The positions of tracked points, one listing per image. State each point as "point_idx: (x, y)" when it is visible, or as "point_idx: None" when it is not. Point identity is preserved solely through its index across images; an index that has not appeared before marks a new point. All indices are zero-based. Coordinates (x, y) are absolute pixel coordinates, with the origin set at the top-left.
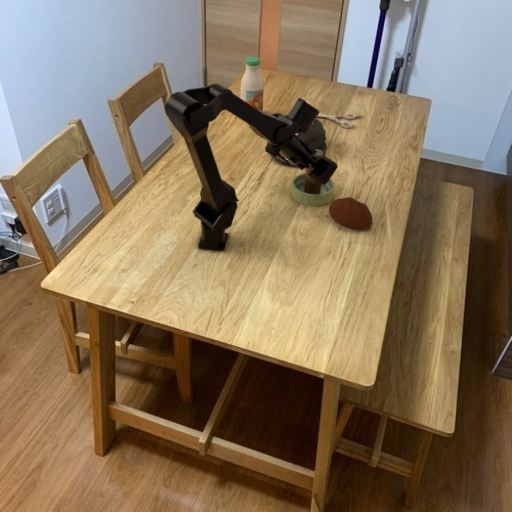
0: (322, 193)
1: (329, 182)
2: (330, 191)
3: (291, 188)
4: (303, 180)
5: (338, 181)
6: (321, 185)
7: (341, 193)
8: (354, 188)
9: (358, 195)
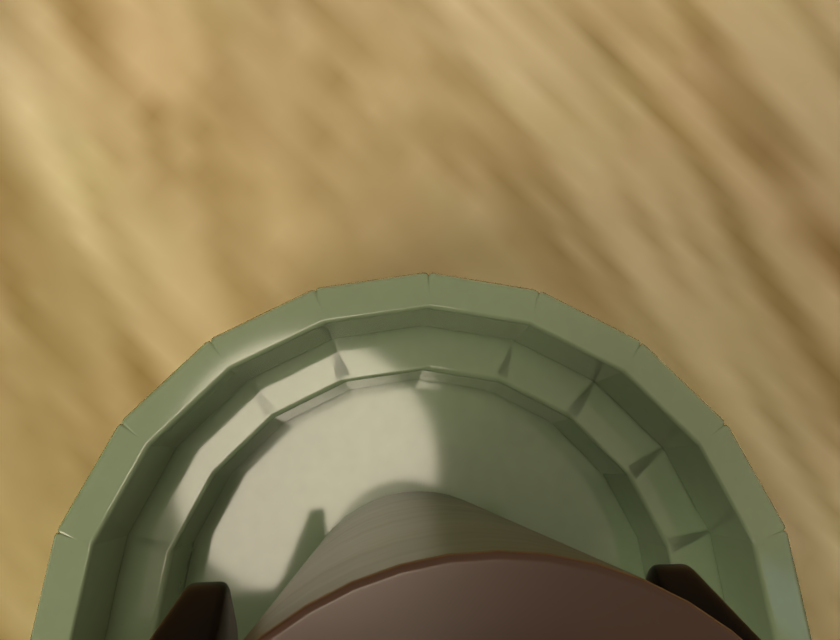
0: (496, 476)
1: (500, 329)
2: (793, 574)
3: None
4: (147, 585)
5: (370, 69)
6: (375, 382)
7: (597, 234)
8: (602, 28)
9: (744, 99)
